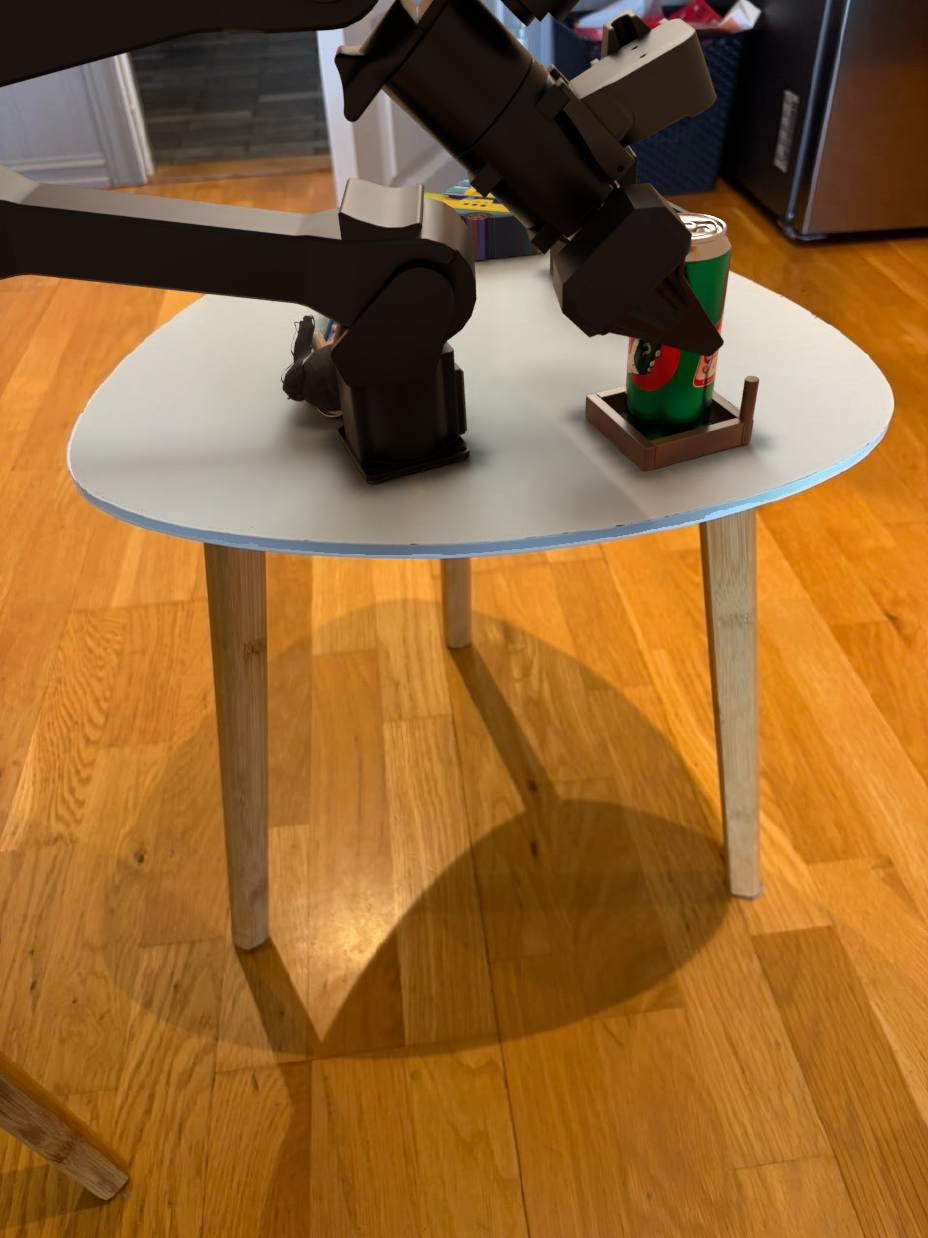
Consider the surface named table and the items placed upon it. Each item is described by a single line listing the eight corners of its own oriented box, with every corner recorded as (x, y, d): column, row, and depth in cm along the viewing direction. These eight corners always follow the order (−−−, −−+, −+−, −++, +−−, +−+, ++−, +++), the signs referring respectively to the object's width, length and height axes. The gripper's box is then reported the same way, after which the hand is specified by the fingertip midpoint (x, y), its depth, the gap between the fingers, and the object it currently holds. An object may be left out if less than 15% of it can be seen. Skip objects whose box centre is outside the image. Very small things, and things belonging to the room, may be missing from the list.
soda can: (707, 453, 55) (735, 243, 47) (619, 448, 56) (633, 241, 48) (708, 411, 58) (734, 210, 51) (626, 407, 59) (639, 209, 52)
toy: (363, 203, 83) (452, 159, 92) (368, 242, 85) (454, 195, 94) (520, 226, 76) (598, 176, 85) (520, 268, 78) (597, 214, 88)
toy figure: (311, 335, 71) (277, 425, 59) (309, 249, 67) (271, 327, 55) (406, 342, 71) (391, 433, 59) (409, 257, 67) (393, 336, 56)
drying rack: (643, 472, 54) (649, 408, 51) (584, 416, 59) (586, 356, 56) (752, 442, 55) (762, 379, 53) (684, 391, 61) (691, 331, 58)
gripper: (660, -18, 34) (887, 264, 42) (584, -66, 49) (763, 150, 56) (457, 220, 40) (691, 434, 47) (442, 113, 54) (623, 291, 61)
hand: (695, 313), depth 52 cm, fingers open, 9 cm apart
